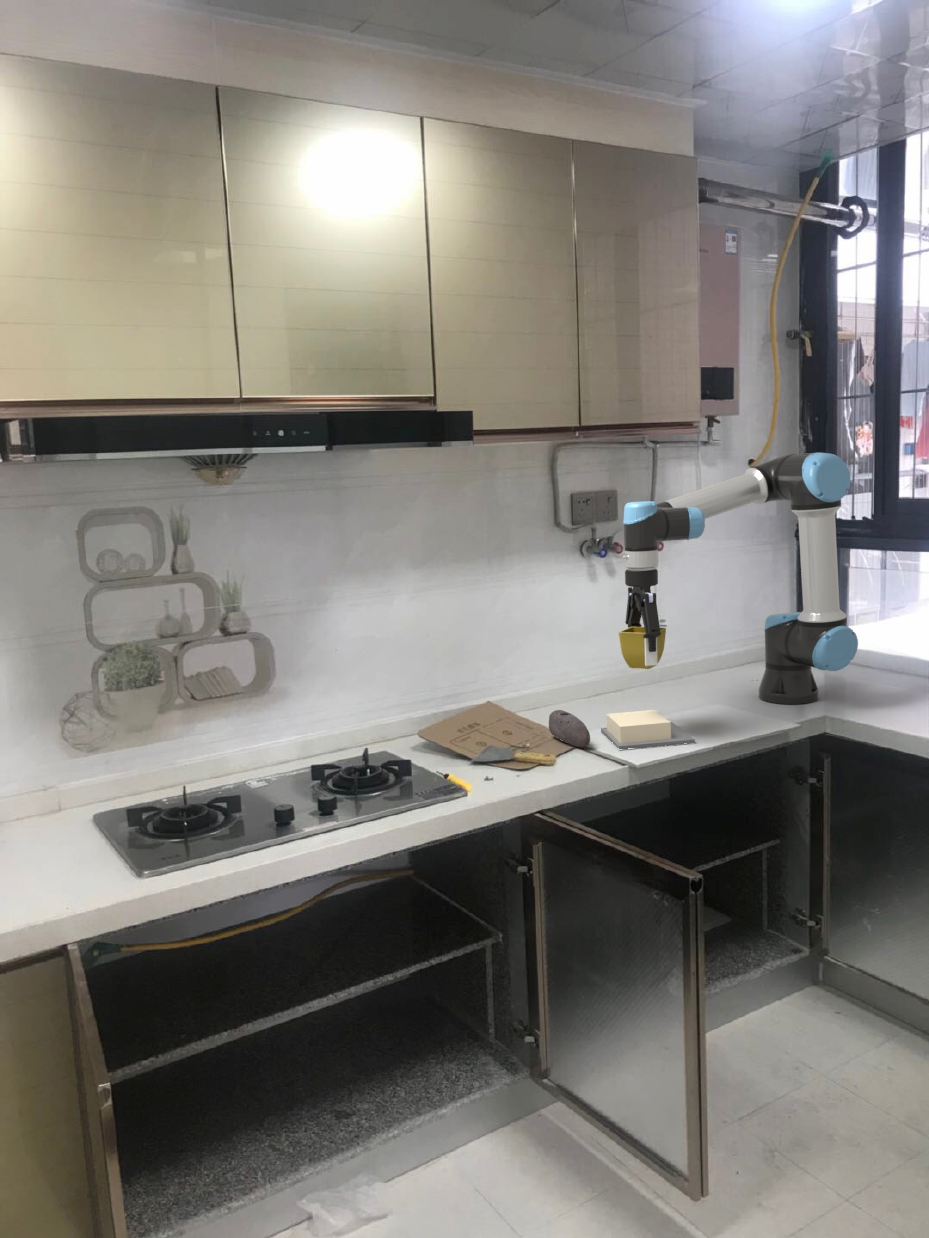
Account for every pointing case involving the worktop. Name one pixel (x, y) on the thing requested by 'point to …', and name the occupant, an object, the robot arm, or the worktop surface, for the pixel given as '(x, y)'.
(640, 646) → the flower pot
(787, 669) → the robot arm
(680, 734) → the display base
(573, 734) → the perforated stone tool
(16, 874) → the worktop surface
